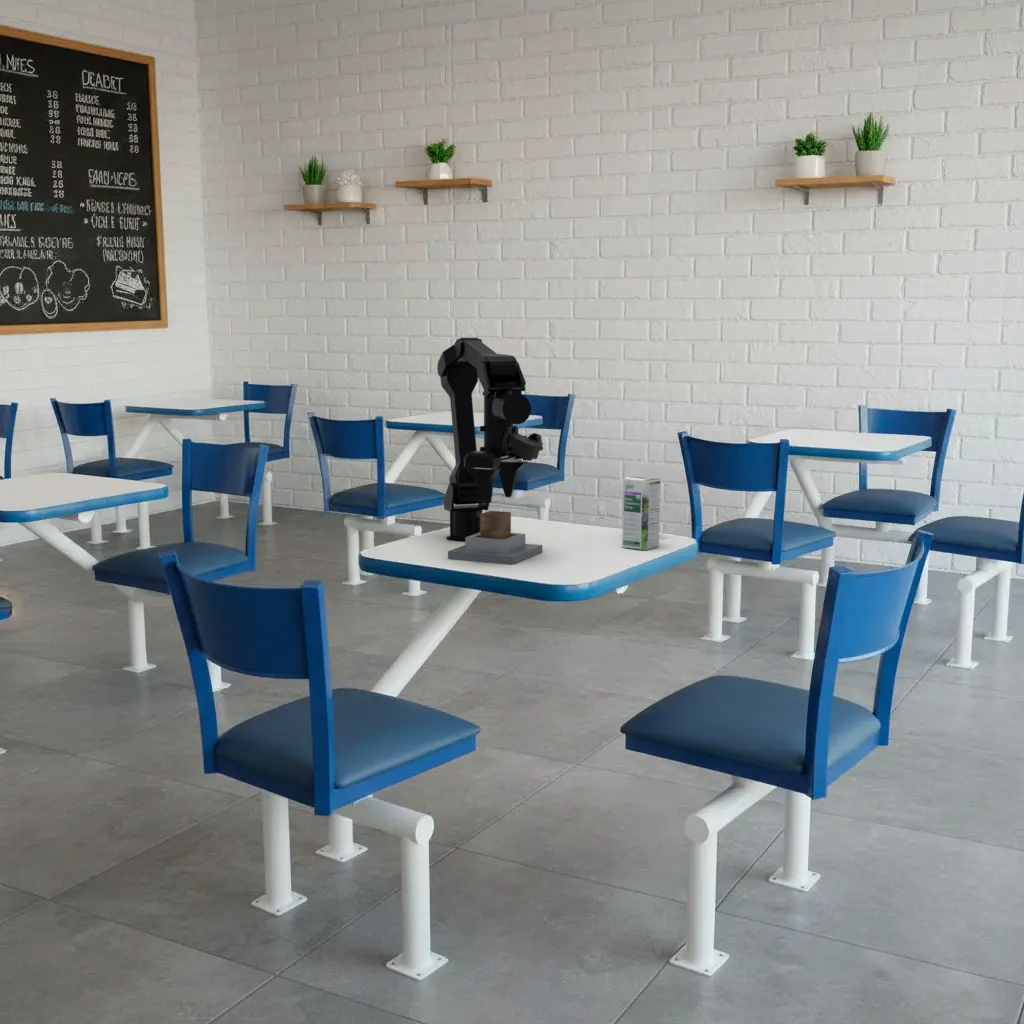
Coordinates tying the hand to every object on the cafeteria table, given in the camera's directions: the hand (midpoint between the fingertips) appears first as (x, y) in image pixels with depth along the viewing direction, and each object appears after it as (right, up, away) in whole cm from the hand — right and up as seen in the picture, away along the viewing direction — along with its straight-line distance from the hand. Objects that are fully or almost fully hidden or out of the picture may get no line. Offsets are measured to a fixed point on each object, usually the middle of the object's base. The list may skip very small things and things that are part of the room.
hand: (498, 499), depth 240 cm
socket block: (0, -11, +1) cm, 11 cm away
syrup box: (+29, -10, +11) cm, 32 cm away
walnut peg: (0, -10, +1) cm, 10 cm away
